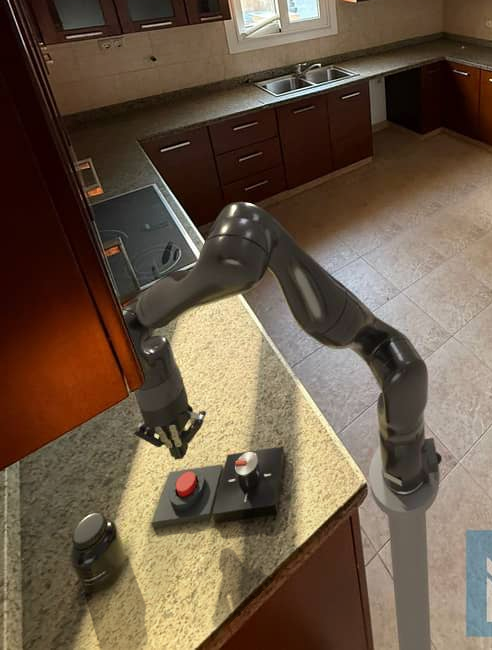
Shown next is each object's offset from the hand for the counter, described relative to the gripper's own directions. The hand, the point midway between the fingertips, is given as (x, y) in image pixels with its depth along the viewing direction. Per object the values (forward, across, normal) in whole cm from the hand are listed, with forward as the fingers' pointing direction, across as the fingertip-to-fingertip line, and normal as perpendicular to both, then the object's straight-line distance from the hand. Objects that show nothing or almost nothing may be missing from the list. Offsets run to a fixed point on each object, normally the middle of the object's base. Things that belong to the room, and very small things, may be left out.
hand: (181, 454), depth 85 cm
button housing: (+12, 0, 0) cm, 12 cm away
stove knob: (+9, +12, 0) cm, 15 cm away
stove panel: (+12, +12, 0) cm, 17 cm away
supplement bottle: (+12, -12, -11) cm, 20 cm away
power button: (+9, 0, 0) cm, 9 cm away
